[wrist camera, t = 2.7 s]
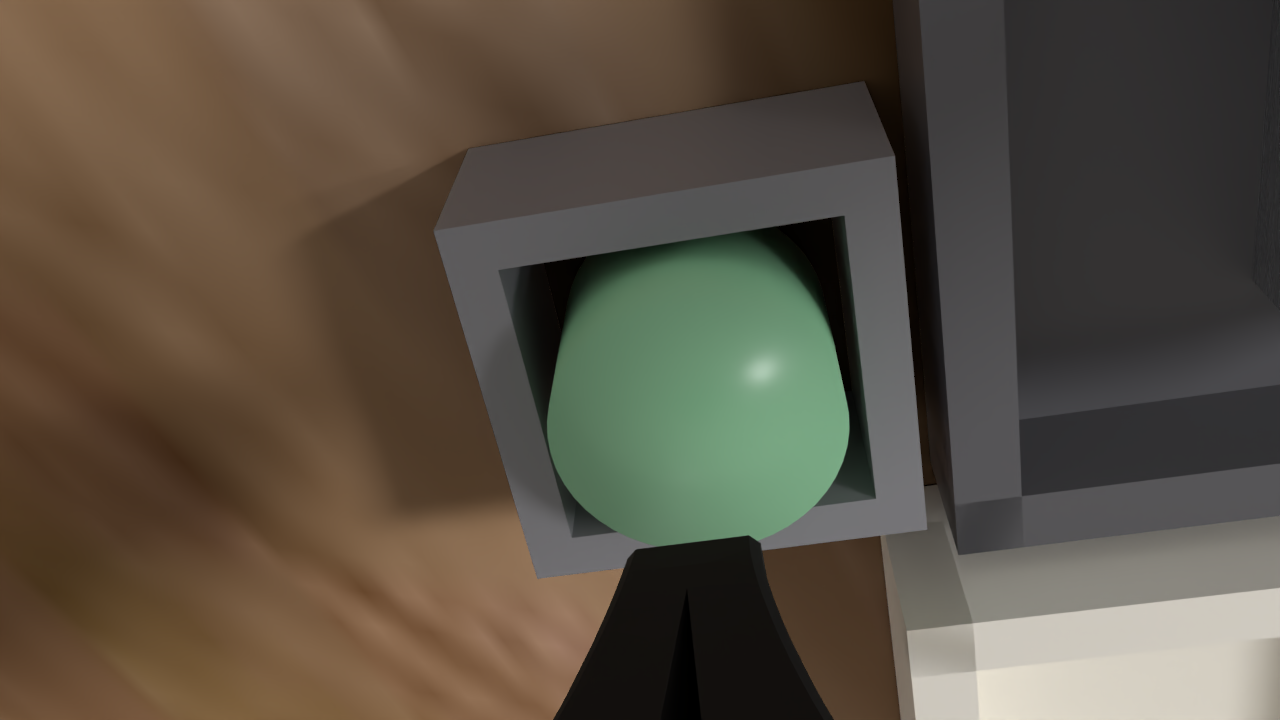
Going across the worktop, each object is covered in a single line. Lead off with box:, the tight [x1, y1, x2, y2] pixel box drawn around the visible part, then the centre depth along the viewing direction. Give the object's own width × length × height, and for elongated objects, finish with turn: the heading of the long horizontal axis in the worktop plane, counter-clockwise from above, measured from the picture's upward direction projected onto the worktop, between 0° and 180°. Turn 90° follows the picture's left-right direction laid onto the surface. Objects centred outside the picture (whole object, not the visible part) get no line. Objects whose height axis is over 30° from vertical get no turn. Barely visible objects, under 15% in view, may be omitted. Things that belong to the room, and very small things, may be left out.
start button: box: [547, 226, 849, 546], centre depth 17 cm, size 4×4×3 cm
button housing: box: [434, 81, 927, 579], centre depth 18 cm, size 6×6×3 cm
